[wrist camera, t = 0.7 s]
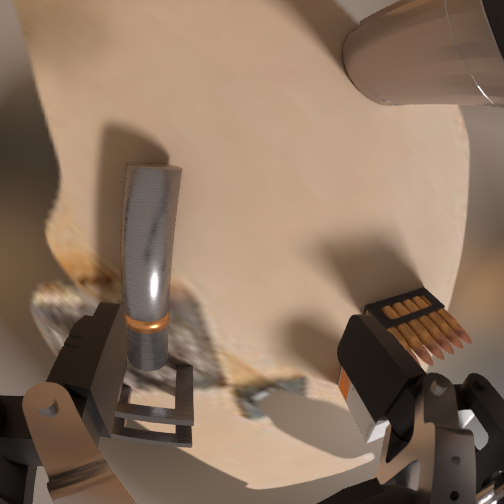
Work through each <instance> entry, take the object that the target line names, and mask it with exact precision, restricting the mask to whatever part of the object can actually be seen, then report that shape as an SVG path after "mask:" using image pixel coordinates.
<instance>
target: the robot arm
mask: <svg viewBox="0 0 504 504" xmlns="http://www.w3.org/2000/svg"><path fill="white" fill-rule="evenodd" d="M343 61H344V65H345V68H346V71H347V73H348V75H349V77H350V79H351V80H352V82H353V83H354V85H355V86H356V87H357V88H358V90H359V91H360V92H361V93H362V94H364V95H365V96H366V97H367V98H369V99H370V100H372V101H374V102H376V103H379V104H382V105H410V104H457V105H476V106H490V107H499V108H504V0H400V1H397V2H395V3H393V4H391V5H389V6H387V7H385V8H383V9H381V10H380V11H378V12H376V13H374V14H372V15H370V16H369V17H367V18H365V19H363V20H361V21H360V26H359V28H357V29H356V30H354V31H352V32H351V33H350V34H349V35H348V36H347V38H346V40H345V42H344V46H343ZM127 355H128V340H127V332H126V323H125V314H124V307H123V305H121V304H113V303H104V302H100V304H99V305H98V307H97V309H96V311H95V313H94V315H93V316H87V315H85V316H84V317H83V318H81V319H80V320H79V321H77V322H76V323H75V324H74V326H73V328H72V330H71V331H70V333H69V337H67V339H66V341H65V343H64V346H63V347H62V349H61V351H60V353H59V355H58V357H57V359H56V361H55V363H54V365H53V367H52V370H51V372H50V374H49V377H48V378H47V380H46V382H42V383H38V384H36V385H34V386H32V387H31V388H30V389H29V390H28V391H27V392H26V393H25V395H24V396H2V395H0V504H32V502H33V492H34V484H35V476H36V470H37V466H44V469H45V471H46V473H47V475H48V478H49V482H48V483H47V489H48V491H49V494H50V496H51V498H52V500H53V502H54V504H137V503H136V502H135V500H134V499H133V498H132V497H131V495H130V494H129V493H128V491H127V490H126V489H125V488H124V486H123V485H122V483H121V482H120V481H119V479H118V478H117V477H116V475H115V474H114V472H113V471H112V469H111V468H110V466H109V465H108V463H107V462H106V460H105V459H104V457H103V456H102V454H101V452H100V451H99V449H98V444H99V439H100V436H102V437H108V438H111V435H112V429H113V423H114V417H115V412H116V406H117V401H118V396H119V392H120V387H121V382H122V378H123V373H124V369H125V365H126V361H127ZM337 356H338V360H339V362H340V364H341V366H342V367H343V369H344V371H345V372H346V374H347V376H348V377H349V379H350V381H351V383H352V384H353V386H354V388H355V389H356V391H357V393H358V394H359V396H360V398H361V400H362V401H363V403H364V405H365V406H366V408H367V410H368V412H369V413H370V415H371V417H372V419H373V420H374V422H375V424H377V423H380V422H383V421H386V420H388V421H389V422H390V423H389V425H388V426H387V427H386V430H385V436H384V441H383V446H382V451H381V456H380V461H379V465H378V468H377V471H376V472H375V474H374V476H373V477H372V478H371V479H370V480H368V481H365V482H362V483H360V484H357V485H354V486H351V487H348V488H345V489H342V490H341V491H339V492H338V493H336V494H334V495H332V496H330V497H329V498H327V499H325V500H323V501H321V502H319V503H317V504H504V399H503V398H502V397H501V396H500V394H499V393H498V392H497V391H496V390H495V388H494V387H493V386H492V385H491V384H490V382H489V381H488V380H487V379H486V378H485V377H483V376H482V375H479V374H477V373H471V374H469V375H468V377H467V378H466V379H465V381H464V382H463V384H455V385H454V384H452V382H451V381H450V380H449V379H448V378H446V377H445V376H443V375H441V374H439V373H434V372H433V373H432V372H431V373H427V374H426V372H425V371H424V370H423V369H422V368H421V366H420V365H419V364H418V363H417V362H416V360H415V359H414V358H413V357H412V356H411V355H410V353H409V352H408V351H407V350H405V348H404V347H403V345H402V344H401V343H399V341H398V340H397V338H396V337H395V336H394V335H393V334H392V333H391V332H389V331H388V330H387V329H385V328H384V327H383V326H382V325H381V324H380V323H379V322H378V320H377V319H376V318H375V317H374V316H373V315H371V314H359V315H352V316H351V317H350V319H349V321H348V324H347V326H346V329H345V331H344V334H343V336H342V338H341V341H340V343H339V346H338V350H337ZM474 416H476V417H477V419H478V420H479V422H480V423H481V424H482V426H483V427H484V429H485V430H486V432H487V433H488V436H489V439H488V443H487V444H486V445H485V447H484V448H482V449H481V450H478V449H477V448H476V446H475V445H474V436H473V432H472V431H471V430H469V429H464V427H465V426H466V424H467V423H468V422H469V421H470V420H471V419H472V418H473V417H474ZM499 471H502V472H500V473H499Z"/></svg>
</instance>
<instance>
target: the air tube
mask: <svg viewBox="0 0 504 504" xmlns="http://www.w3.org/2000/svg"><path fill="white" fill-rule="evenodd" d="M181 174H182V168H180V167H177V166H173V165H167V164H159V163H128V164H126V171H125V182H124V194H123V209H122V234H121V275H122V300H123V307H124V314H125V323H126V332H127V340H128V360H129V362H130V363H131V364H132V365H133V366H134V367H136V368H138V369H140V370H144V371H154V370H157V369H160V368H162V367H163V366H164V365H165V364H166V362H167V360H168V323H169V296H170V279H171V265H172V252H173V241H174V231H175V221H176V212H177V204H178V196H179V188H180V181H181Z"/></svg>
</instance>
